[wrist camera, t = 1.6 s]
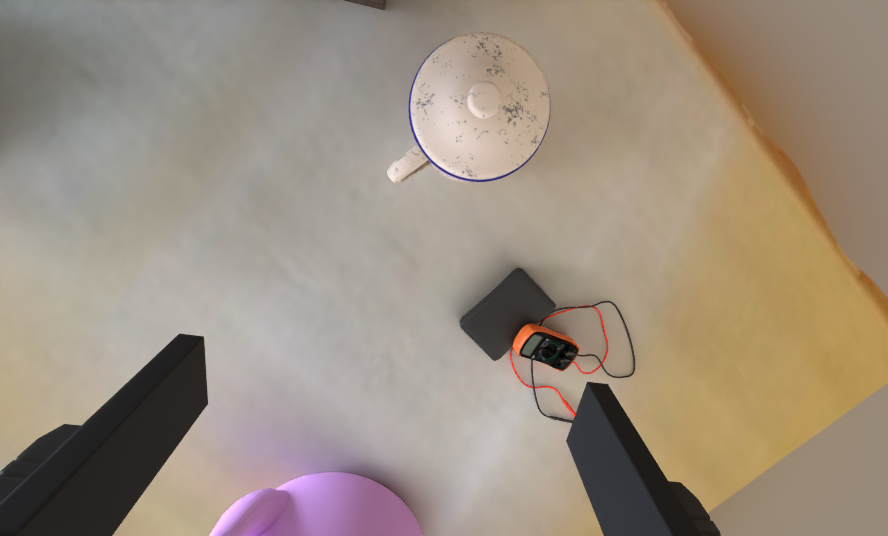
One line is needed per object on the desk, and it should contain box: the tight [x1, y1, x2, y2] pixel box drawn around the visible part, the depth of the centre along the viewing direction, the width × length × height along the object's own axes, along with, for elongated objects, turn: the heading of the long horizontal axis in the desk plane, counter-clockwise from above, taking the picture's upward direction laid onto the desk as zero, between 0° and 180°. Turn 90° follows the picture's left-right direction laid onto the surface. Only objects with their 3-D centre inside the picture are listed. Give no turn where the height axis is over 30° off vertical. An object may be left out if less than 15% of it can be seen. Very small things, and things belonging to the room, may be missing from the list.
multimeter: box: [460, 268, 635, 423], centre depth 37 cm, size 18×12×3 cm, turn 39°
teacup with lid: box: [387, 32, 550, 183], centre depth 29 cm, size 12×9×12 cm
